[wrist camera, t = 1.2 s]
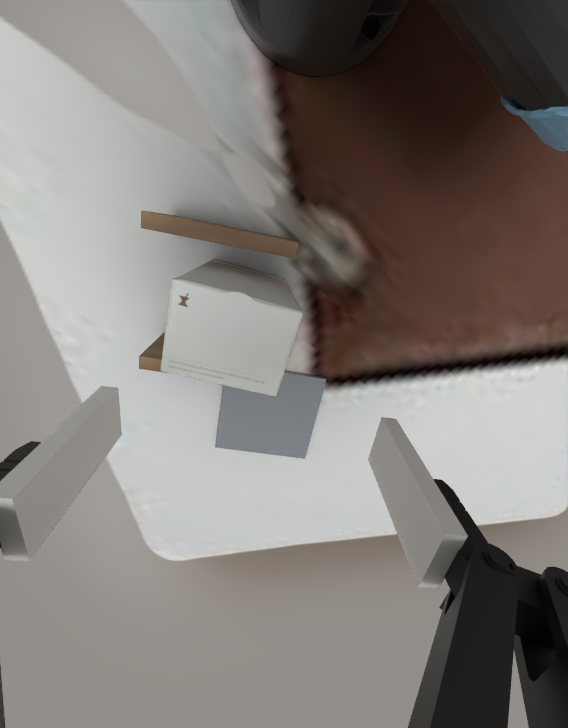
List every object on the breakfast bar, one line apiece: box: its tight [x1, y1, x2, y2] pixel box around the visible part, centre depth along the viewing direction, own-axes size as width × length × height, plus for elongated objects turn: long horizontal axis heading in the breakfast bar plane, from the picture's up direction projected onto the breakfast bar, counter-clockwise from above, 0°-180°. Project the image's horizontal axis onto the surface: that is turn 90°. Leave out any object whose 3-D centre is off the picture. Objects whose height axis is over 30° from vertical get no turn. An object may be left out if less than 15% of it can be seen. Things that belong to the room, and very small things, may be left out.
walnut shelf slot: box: [139, 211, 299, 373], centre depth 30 cm, size 13×12×8 cm
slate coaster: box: [215, 371, 326, 459], centre depth 40 cm, size 12×12×1 cm
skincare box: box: [160, 259, 303, 396], centre depth 27 cm, size 8×7×16 cm
